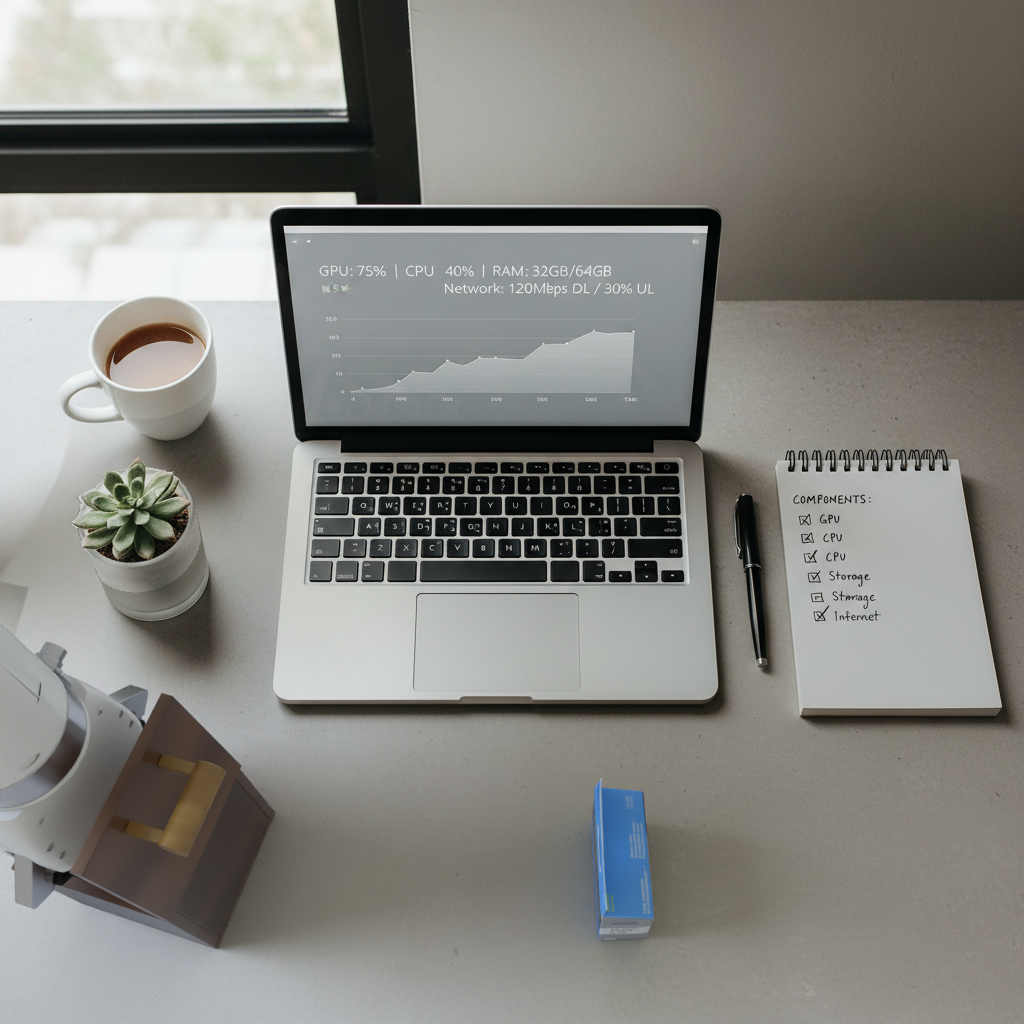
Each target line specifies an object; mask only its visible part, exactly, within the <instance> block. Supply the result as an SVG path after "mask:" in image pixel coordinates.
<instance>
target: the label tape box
mask: <svg viewBox="0 0 1024 1024" xmlns="http://www.w3.org/2000/svg"><path fill="white" fill-rule="evenodd" d="M603 779H604V778H603V777H601V778H600V779H599V781H598V782H597V784H596V785H595V786H594V791H593V801H592V802H593V804H592V811H591V812H592V814H591V822H590V823H591V824H590V826H591V829H590V830H591V831H590V832H591V853H592V871H593V872H592V873H593V888H594V889H593V890H594V891H593V892H594V905H595V906H594V907H595V916H596V917H595V918H596V932H597V940H598V941H621V940H640V939H641V940H642V939H648V935H649V932H650V929H651V927H652V926H653V922H654V921H655V908H654V897H653V896H654V895H653V883H652V874H651V863H650V862H651V861H650V853H649V851H650V850H649V841H648V827H647V819H646V818H647V817H646V806H645V794H644V791H643V790H634V789H624V788H613V787H604V786H603V785H602V783H603Z"/></svg>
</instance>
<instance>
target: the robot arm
mask: <svg viewBox="0 0 1024 1024" xmlns="http://www.w3.org/2000/svg"><path fill="white" fill-rule="evenodd" d="M67 654H68V651H67V650H66V649H65V648H64V647H62V646H61V645H59V644H56V643H54V642H50V641H45V642H44V643H43V645H42V647H41V649H40V650H39V652H36V653H34V652H33V651H32V650H31V649H30V648H29V647H28V646H27V645H26V644H25V643H23V642H22V640H21V639H20V638H18V637H17V636H16V635H15V634H14V633H13V632H12V631H11V630H10V629H9V628H8V627H6V625H5V624H4V623H2V622H1V621H0V852H1V853H2V854H4V855H6V856H8V857H10V858H13V859H14V860H13V864H14V868H15V871H14V903H16V904H18V905H21V906H24V907H26V908H30V909H33V910H36V909H38V908H39V906H41V905H42V903H44V901H45V900H46V899H47V898H48V897H49V896H50V895H51V894H52V893H53V892H55V890H54V887H55V886H56V885H58V886H62V885H64V884H65V883H66V882H67V881H68V880H69V879H70V878H72V877H73V876H74V875H73V874H71V873H70V870H71V868H72V866H73V864H74V862H75V860H76V858H77V856H78V854H79V852H80V851H81V849H82V847H83V845H84V843H85V841H86V839H87V837H88V835H89V833H90V831H91V829H92V827H93V825H94V823H95V821H96V819H97V817H98V815H99V814H100V812H101V810H102V808H103V806H104V804H105V802H106V800H107V798H108V796H109V794H110V792H111V790H112V788H113V786H114V784H115V782H116V780H117V778H118V777H119V775H120V773H121V771H122V769H123V767H124V765H125V763H126V761H127V759H128V757H129V755H130V753H131V751H132V749H133V747H134V745H135V743H136V741H137V740H138V738H139V736H140V734H141V732H142V730H143V728H144V726H145V724H146V720H145V719H143V717H144V716H145V713H146V709H147V703H148V696H149V690H148V689H146V688H142V687H139V686H136V685H134V684H129V685H127V686H125V687H122V688H120V689H118V690H116V691H114V692H112V693H109V694H107V693H105V692H103V691H102V690H100V688H97V687H96V686H93V685H91V684H89V683H88V682H86V681H84V680H81V679H79V678H77V677H74V676H72V675H70V674H68V673H66V672H64V670H63V669H62V668H63V666H64V663H63V662H64V660H65V657H66V656H67Z"/></svg>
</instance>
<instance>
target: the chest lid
mask: <svg viewBox="0 0 1024 1024" xmlns="http://www.w3.org/2000/svg"><path fill="white" fill-rule="evenodd" d="M241 769H242V765H241V764H240V762H239V761H238V760H236V758H235V757H234V756H233V755H232V754H231V753H230V752H229V751H228V750H227V749H226V747H224V746H223V745H222V744H221V743H220V742H219V741H218V740H217V739H216V737H214V736H213V735H212V734H211V733H210V732H209V731H208V730H207V729H206V728H205V727H204V726H203V725H202V724H201V723H200V722H199V721H198V720H197V719H196V717H195V716H193V715H192V714H191V713H190V712H189V710H187V708H186V707H184V706H183V704H181V703H180V702H179V700H178V699H176V697H175V696H174V695H170V694H168V693H163V692H161V693H160V695H159V697H158V698H157V701H156V703H155V704H154V707H153V709H152V710H151V713H150V715H149V717H148V719H147V720H146V721H145V726H144V728H143V730H142V732H141V734H140V736H139V738H138V740H137V741H136V743H135V745H134V747H133V749H132V751H131V753H130V755H129V757H128V759H127V761H126V763H125V765H124V767H123V769H122V771H121V773H120V775H119V777H118V778H117V780H116V782H115V784H114V786H113V788H112V790H111V792H110V794H109V796H108V798H107V800H106V802H105V804H104V806H103V808H102V810H101V812H100V814H99V815H98V817H97V819H96V821H95V823H94V825H93V827H92V829H91V831H90V833H89V835H88V837H87V839H86V841H85V843H84V845H83V847H82V849H81V851H80V852H79V854H78V856H77V858H76V860H75V862H74V864H73V866H72V868H71V870H70V873H71V874H73V875H75V876H77V877H79V878H81V879H83V880H85V881H87V882H89V883H91V884H93V885H95V886H97V887H99V888H101V889H103V890H105V891H107V892H108V893H110V894H112V895H114V896H116V897H118V898H120V899H122V900H124V901H126V902H128V903H130V904H132V905H134V906H136V907H138V908H140V909H142V910H144V911H146V912H148V913H150V914H152V915H153V916H155V917H157V918H159V919H161V920H164V921H167V922H172V920H173V917H174V915H175V913H176V911H177V908H178V906H179V904H180V902H181V900H182V897H183V895H184V893H185V891H186V888H187V886H188V884H189V882H190V880H191V877H192V875H193V873H194V871H195V868H196V866H197V864H198V862H199V860H200V857H201V855H202V853H203V851H204V848H205V846H206V844H207V842H208V840H209V837H210V835H211V833H212V831H213V828H214V826H215V824H216V822H217V820H218V817H219V815H220V813H221V811H222V809H223V806H224V804H225V802H226V800H227V797H228V795H229V793H230V791H231V789H232V786H233V784H234V782H235V780H236V777H237V775H238V773H239V771H240V770H241Z"/></svg>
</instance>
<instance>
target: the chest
mask: <svg viewBox="0 0 1024 1024" xmlns="http://www.w3.org/2000/svg"><path fill="white" fill-rule="evenodd" d="M275 814H276V811H275V810H274V808H272V806H271V804H270V803H268V801H267V800H266V799H265V798H264V796H263V795H262V794H261V793H260V792H259V790H258V789H257V788H256V787H255V785H254V784H253V783H252V781H251V780H249V778H248V777H247V776H246V774H245V773H244V772H243V770H241V769H240V771H239V773H238V775H237V777H236V780H235V782H234V784H233V786H232V789H231V791H230V793H229V795H228V797H227V800H226V802H225V804H224V806H223V809H222V811H221V813H220V815H219V817H218V820H217V822H216V824H215V826H214V828H213V831H212V833H211V835H210V837H209V840H208V842H207V844H206V846H205V848H204V851H203V853H202V855H201V857H200V860H199V862H198V864H197V866H196V868H195V871H194V873H193V875H192V877H191V880H190V882H189V884H188V886H187V888H186V891H185V893H184V895H183V897H182V900H181V902H180V904H179V906H178V908H177V911H176V913H175V915H174V917H173V920H172V922H167V921H164V920H161V919H159V918H157V917H155V916H153V915H152V914H150V913H148V912H146V911H144V910H142V909H140V908H138V907H136V906H134V905H132V904H130V903H128V902H126V901H124V900H122V899H120V898H118V897H116V896H114V895H112V894H110V893H108V892H107V891H105V890H103V889H101V888H99V887H97V886H95V885H93V884H91V883H89V882H87V881H85V880H83V879H81V878H79V877H77V876H75V875H74V876H73V877H72V878H70V879H69V880H68V881H67V882H66V883H65V884H64V885H62V886H58V885H56V886H55V887H54V892H57V893H59V894H61V895H63V896H65V897H67V898H69V899H71V900H73V901H75V902H78V903H80V904H82V905H85V906H88V907H91V908H94V909H97V910H100V911H103V912H106V913H109V914H112V915H114V916H117V917H120V918H124V919H126V920H129V921H132V922H135V923H138V924H141V925H144V926H147V927H150V928H153V929H156V930H159V931H161V932H163V933H167V934H171V935H172V936H175V937H179V938H182V939H184V940H188V941H191V942H193V943H196V944H199V945H202V946H205V947H208V948H211V949H214V950H218V949H219V947H220V945H221V942H222V940H223V937H224V935H225V933H226V930H227V928H228V925H229V924H230V921H231V918H232V916H233V913H234V911H235V909H236V907H237V904H238V902H239V900H240V897H241V894H242V892H243V890H244V887H245V885H246V883H247V880H248V878H249V876H250V873H251V871H252V869H253V867H254V864H255V861H256V859H257V857H258V854H259V852H260V850H261V847H262V844H263V842H264V840H265V838H266V835H267V833H268V831H269V828H270V826H271V824H272V821H273V818H274V816H275ZM10 869H11V870H12V871H14V872H15V868H14V863H13V864H12V866H11V868H10Z"/></svg>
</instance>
